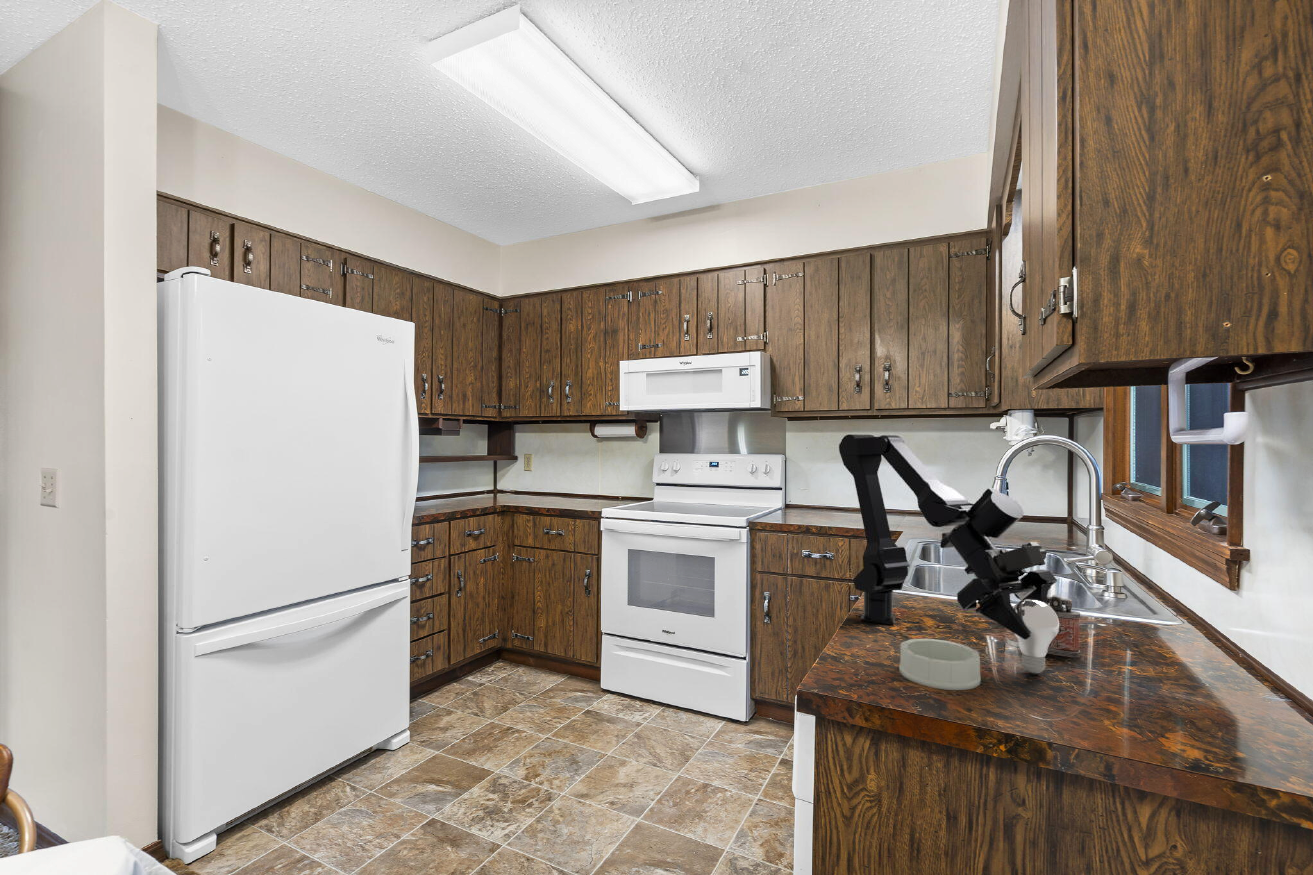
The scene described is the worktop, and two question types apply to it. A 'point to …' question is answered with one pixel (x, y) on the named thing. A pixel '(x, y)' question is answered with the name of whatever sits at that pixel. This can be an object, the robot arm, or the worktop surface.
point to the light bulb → (1036, 632)
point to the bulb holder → (940, 664)
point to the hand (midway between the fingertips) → (1042, 635)
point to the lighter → (1065, 628)
